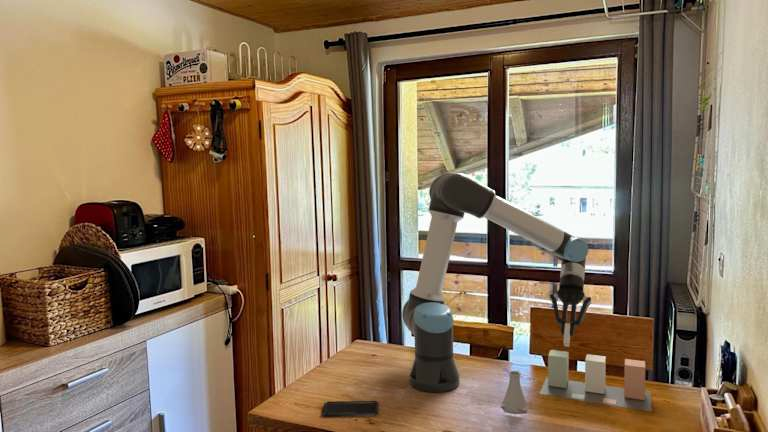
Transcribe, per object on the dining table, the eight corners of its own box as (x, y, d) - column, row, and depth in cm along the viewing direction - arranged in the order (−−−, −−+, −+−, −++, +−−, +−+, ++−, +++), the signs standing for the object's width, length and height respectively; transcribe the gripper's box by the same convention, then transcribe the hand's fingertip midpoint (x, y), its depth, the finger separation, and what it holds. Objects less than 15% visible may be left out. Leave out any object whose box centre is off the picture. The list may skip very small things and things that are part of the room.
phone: (324, 401, 146) (378, 400, 146) (325, 405, 147) (378, 404, 146) (321, 414, 139) (377, 413, 138) (321, 418, 139) (377, 417, 138)
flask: (529, 415, 137) (529, 378, 136) (501, 413, 138) (500, 377, 137) (527, 403, 144) (527, 368, 143) (500, 402, 145) (500, 367, 144)
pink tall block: (624, 397, 142) (624, 364, 142) (624, 390, 147) (625, 358, 146) (644, 400, 140) (645, 367, 139) (644, 392, 145) (645, 361, 144)
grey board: (539, 398, 146) (539, 393, 146) (546, 381, 158) (546, 376, 158) (651, 417, 134) (651, 411, 134) (650, 397, 146) (650, 391, 146)
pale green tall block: (548, 385, 151) (548, 355, 150) (550, 379, 155) (550, 349, 155) (566, 388, 149) (566, 357, 148) (568, 381, 153) (568, 351, 153)
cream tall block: (585, 391, 147) (585, 359, 146) (586, 384, 151) (586, 354, 150) (604, 394, 144) (604, 362, 144) (605, 387, 149) (605, 356, 148)
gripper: (593, 287, 173) (589, 352, 159) (552, 284, 179) (545, 347, 165) (592, 274, 168) (588, 341, 154) (550, 272, 173) (542, 336, 160)
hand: (566, 344), depth 160 cm, fingers closed
